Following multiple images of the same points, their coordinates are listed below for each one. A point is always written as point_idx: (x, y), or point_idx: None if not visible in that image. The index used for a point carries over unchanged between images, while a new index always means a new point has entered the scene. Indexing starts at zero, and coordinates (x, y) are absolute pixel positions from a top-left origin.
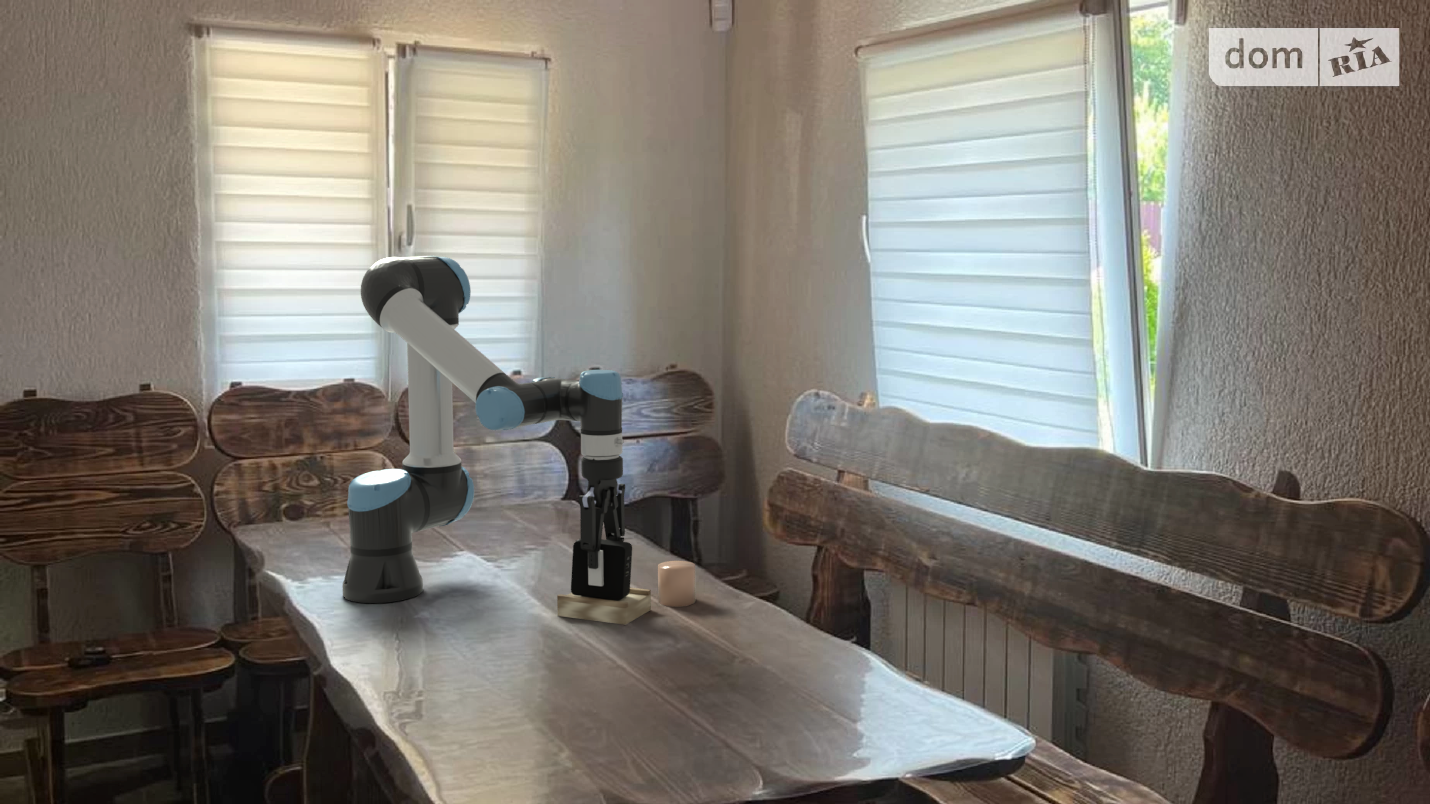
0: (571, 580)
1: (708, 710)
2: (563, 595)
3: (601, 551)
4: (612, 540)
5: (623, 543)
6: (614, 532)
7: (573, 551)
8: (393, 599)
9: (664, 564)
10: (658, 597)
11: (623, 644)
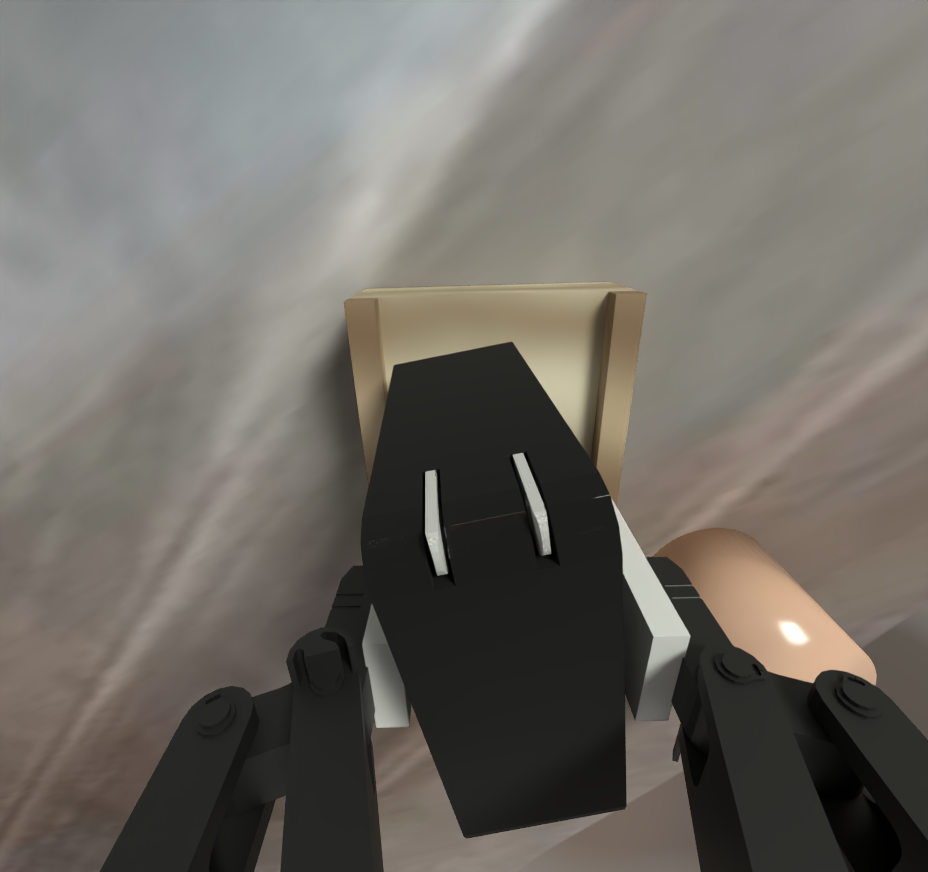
0: (390, 384)
1: (40, 858)
2: (361, 333)
3: (382, 724)
4: (685, 699)
5: (567, 809)
6: (696, 813)
7: (370, 489)
8: None
9: (797, 658)
10: (684, 550)
11: (234, 627)
